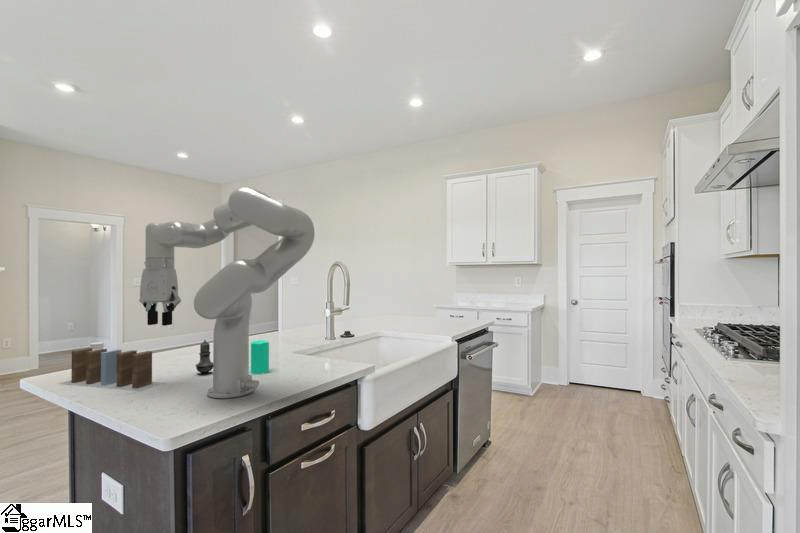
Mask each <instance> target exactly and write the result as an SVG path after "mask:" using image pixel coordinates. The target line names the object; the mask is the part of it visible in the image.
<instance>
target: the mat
mask: <svg viewBox="0 0 800 533" xmlns="http://www.w3.org/2000/svg"><path fill="white" fill-rule="evenodd" d="M57 384H58V385H67V386H76V387H77V386H78V387H79V386H80V387H90V388H97V389H98V388H99V389H100V388H101V389H102V388H103V389H111V390H123V391H132V392H133V391H136V392H142V391H144V390H147V389H151V388H154V387H157V386H160V385H163V384H164V382H161V381H152V384H149V385H146V386H143V387H140V388H132V384H130V385H126V386H123V387H116V384H117V383H113V384H110V385H106V386H103V385H101V382H97V383H94V384H86V381H82V382H78V383H71V380H70V379H69V380H67V381H64V382H59V383H57Z"/></svg>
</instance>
